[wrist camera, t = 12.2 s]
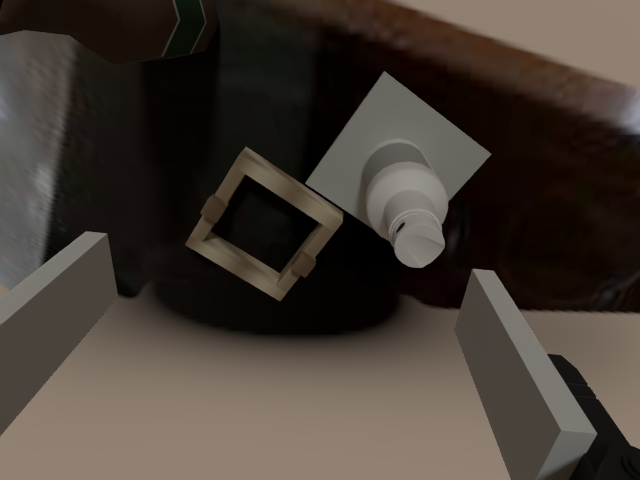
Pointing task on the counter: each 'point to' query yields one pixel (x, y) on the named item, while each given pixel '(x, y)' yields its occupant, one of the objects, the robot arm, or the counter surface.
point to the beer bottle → (119, 25)
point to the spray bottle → (405, 201)
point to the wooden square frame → (243, 262)
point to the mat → (393, 123)
